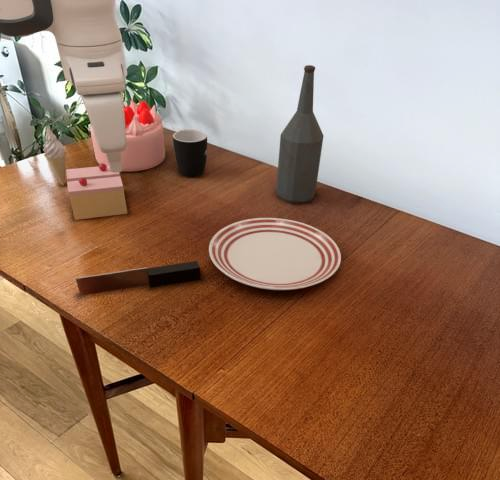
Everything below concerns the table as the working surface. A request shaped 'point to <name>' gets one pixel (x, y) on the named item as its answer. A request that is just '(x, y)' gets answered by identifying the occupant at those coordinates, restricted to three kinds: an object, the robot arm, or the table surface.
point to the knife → (139, 278)
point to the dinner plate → (274, 253)
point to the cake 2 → (138, 139)
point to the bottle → (300, 148)
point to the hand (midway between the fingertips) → (113, 158)
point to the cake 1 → (95, 192)
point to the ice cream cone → (55, 154)
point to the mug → (190, 152)
